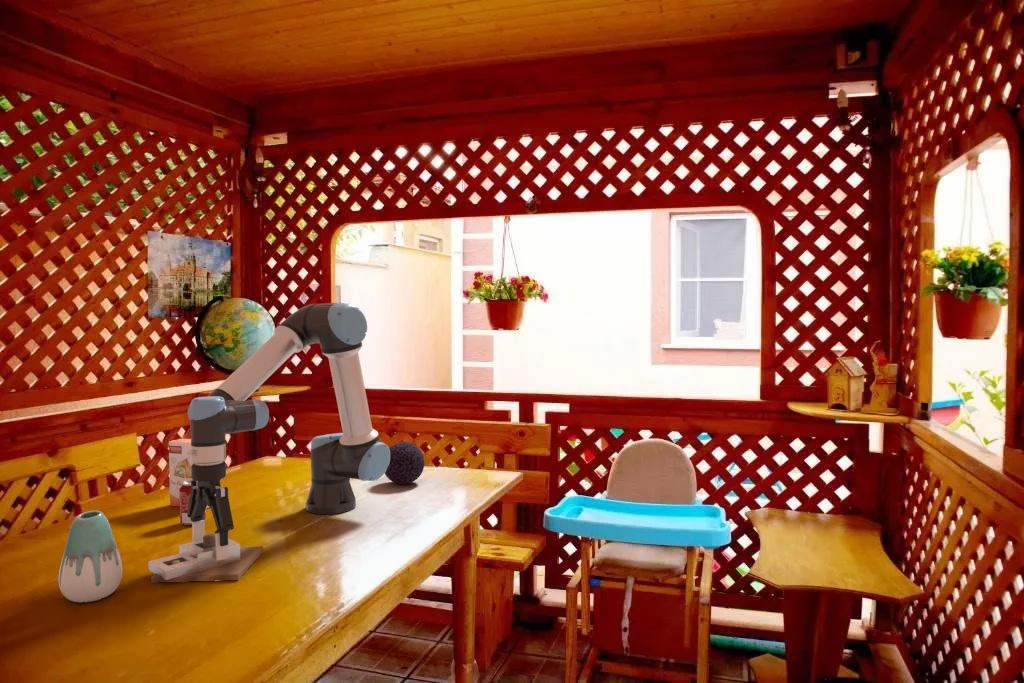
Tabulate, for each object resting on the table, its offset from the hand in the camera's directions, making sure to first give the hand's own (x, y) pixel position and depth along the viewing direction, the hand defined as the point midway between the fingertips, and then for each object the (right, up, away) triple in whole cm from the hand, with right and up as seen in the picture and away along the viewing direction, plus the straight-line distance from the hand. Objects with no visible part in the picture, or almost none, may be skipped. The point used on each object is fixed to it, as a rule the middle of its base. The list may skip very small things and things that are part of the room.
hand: (210, 553), depth 164 cm
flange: (-2, -2, -3) cm, 4 cm away
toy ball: (+33, -1, +83) cm, 89 cm away
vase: (-18, -4, -17) cm, 25 cm away
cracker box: (-29, -2, +54) cm, 61 cm away
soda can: (-21, -2, +36) cm, 41 cm away
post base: (0, -3, 0) cm, 3 cm away
